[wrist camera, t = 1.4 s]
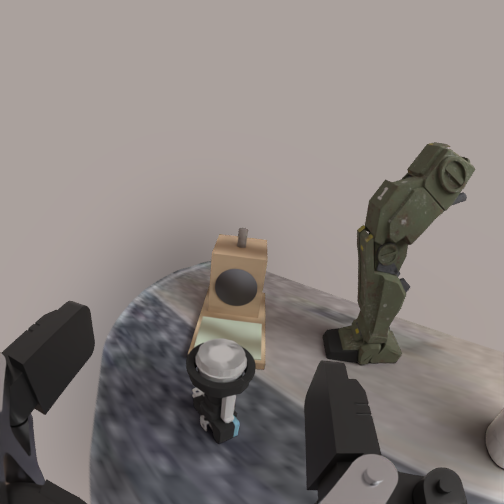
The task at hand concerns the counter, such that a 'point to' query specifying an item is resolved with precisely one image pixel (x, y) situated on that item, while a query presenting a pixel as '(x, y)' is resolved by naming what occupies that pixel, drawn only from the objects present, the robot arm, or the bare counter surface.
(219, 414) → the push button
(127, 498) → the counter surface
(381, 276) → the mechanical leg
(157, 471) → the counter surface
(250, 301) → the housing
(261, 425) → the counter surface
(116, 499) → the counter surface
